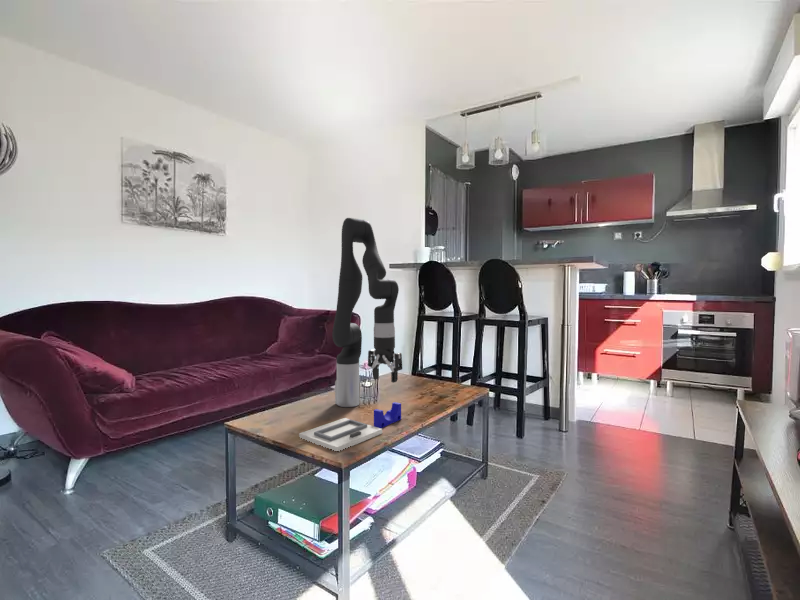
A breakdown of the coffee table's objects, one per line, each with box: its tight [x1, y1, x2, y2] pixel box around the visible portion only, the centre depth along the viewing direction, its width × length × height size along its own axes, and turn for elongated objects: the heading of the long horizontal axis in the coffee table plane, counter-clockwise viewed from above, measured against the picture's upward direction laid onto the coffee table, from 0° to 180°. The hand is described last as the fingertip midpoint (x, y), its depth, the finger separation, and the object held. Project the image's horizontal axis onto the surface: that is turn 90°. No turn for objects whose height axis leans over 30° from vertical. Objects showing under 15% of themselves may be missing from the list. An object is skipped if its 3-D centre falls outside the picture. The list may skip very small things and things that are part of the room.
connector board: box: [298, 417, 383, 452], centre depth 138 cm, size 18×20×2 cm
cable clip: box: [373, 401, 402, 429], centre depth 151 cm, size 12×4×6 cm, turn 144°
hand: (384, 380), depth 151 cm, fingers open, 8 cm apart
